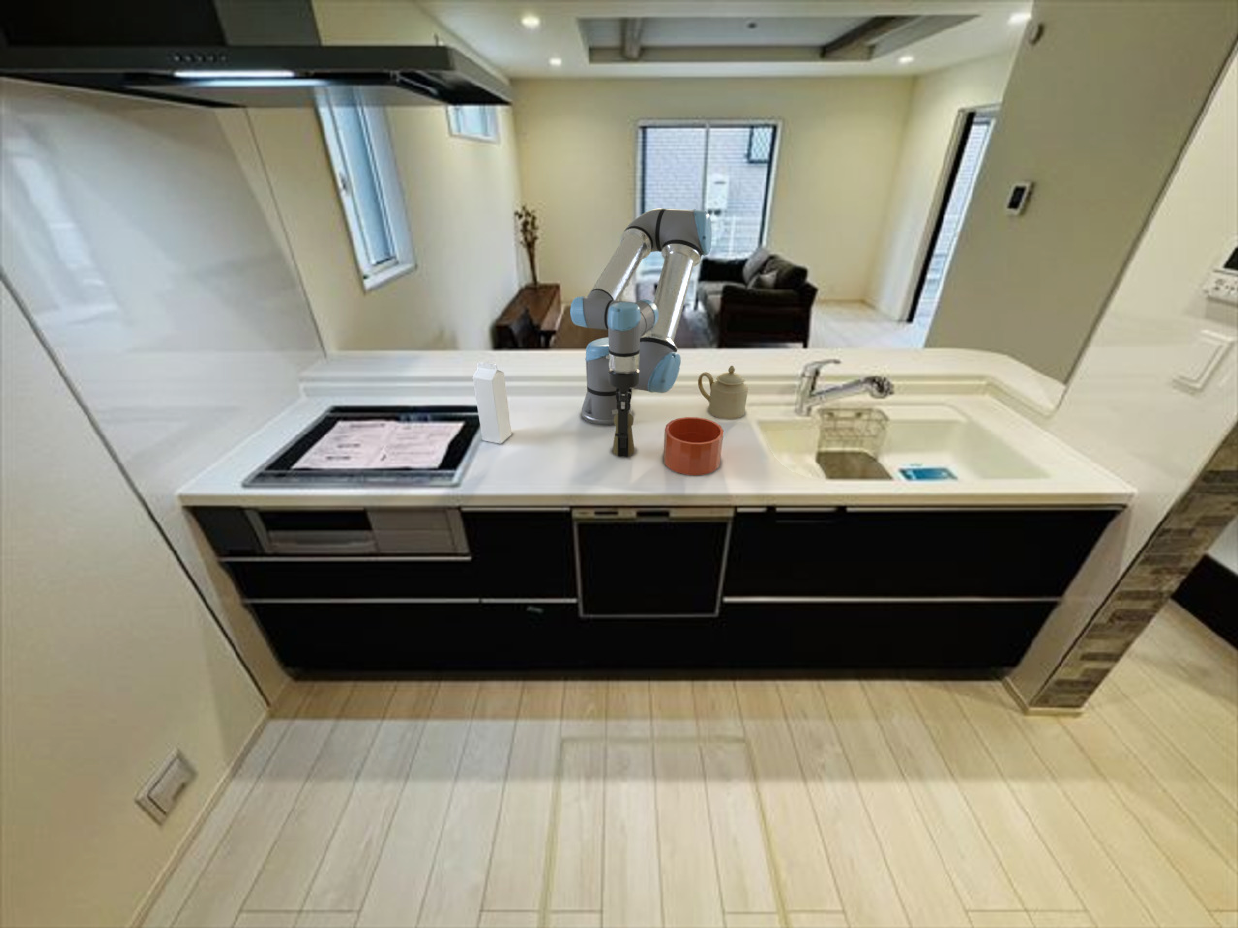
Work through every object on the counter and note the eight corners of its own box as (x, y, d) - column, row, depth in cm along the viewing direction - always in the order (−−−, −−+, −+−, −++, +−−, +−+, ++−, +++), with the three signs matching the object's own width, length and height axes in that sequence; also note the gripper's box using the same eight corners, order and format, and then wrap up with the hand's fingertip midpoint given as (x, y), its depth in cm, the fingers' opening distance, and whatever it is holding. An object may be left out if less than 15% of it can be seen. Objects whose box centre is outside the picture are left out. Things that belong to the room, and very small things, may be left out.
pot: (662, 445, 142) (664, 416, 137) (716, 447, 141) (720, 417, 136) (664, 474, 129) (665, 443, 125) (723, 476, 129) (727, 444, 124)
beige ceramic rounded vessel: (695, 417, 157) (699, 370, 149) (696, 402, 166) (699, 357, 158) (745, 420, 155) (752, 373, 147) (743, 405, 164) (749, 359, 156)
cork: (632, 457, 136) (633, 420, 131) (610, 455, 137) (609, 418, 132) (636, 446, 141) (637, 410, 136) (614, 444, 142) (614, 408, 137)
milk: (493, 431, 149) (483, 357, 138) (512, 434, 148) (502, 360, 136) (482, 440, 144) (470, 365, 133) (501, 444, 143) (490, 368, 131)
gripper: (611, 355, 135) (611, 433, 147) (606, 383, 119) (607, 468, 131) (639, 355, 135) (638, 433, 147) (638, 384, 119) (636, 468, 131)
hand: (623, 449), depth 139 cm, fingers closed on cork, 6 cm apart
